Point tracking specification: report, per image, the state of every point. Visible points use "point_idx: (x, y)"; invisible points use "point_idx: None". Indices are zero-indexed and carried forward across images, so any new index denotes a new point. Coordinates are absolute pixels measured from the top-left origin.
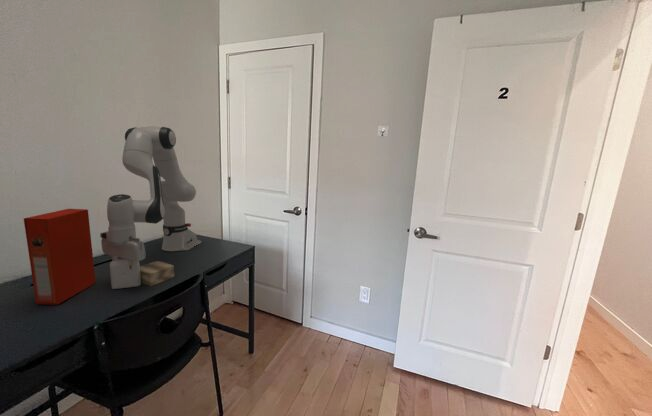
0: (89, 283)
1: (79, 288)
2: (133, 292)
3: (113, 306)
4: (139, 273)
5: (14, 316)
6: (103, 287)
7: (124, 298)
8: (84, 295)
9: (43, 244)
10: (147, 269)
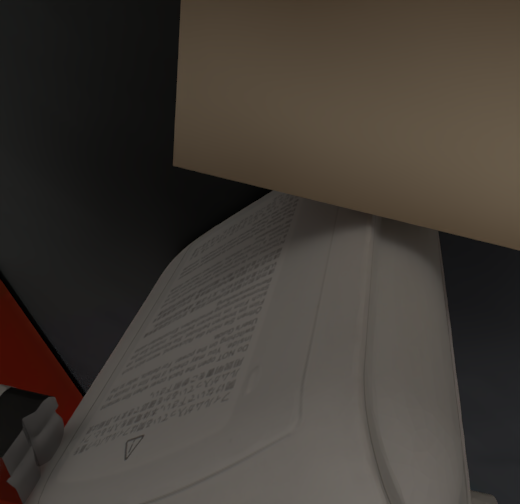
0: (8, 330)
1: (60, 408)
2: (477, 321)
3: (485, 490)
4: (442, 288)
5: None
6: (125, 298)
7: (477, 409)
8: None
9: None
10: (485, 122)
